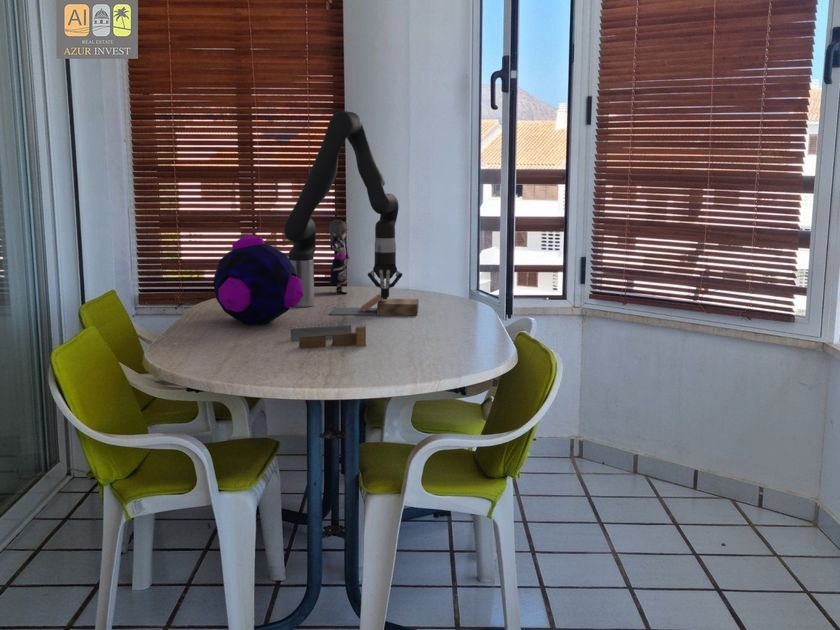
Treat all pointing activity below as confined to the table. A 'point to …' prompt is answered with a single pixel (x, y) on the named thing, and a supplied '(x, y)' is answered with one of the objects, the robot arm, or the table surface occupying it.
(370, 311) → the mat
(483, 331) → the table surface
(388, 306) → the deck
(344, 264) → the figurine
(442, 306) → the table surface
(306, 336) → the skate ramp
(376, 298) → the salmon pink rectangular block
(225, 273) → the sculpture
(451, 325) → the table surface
